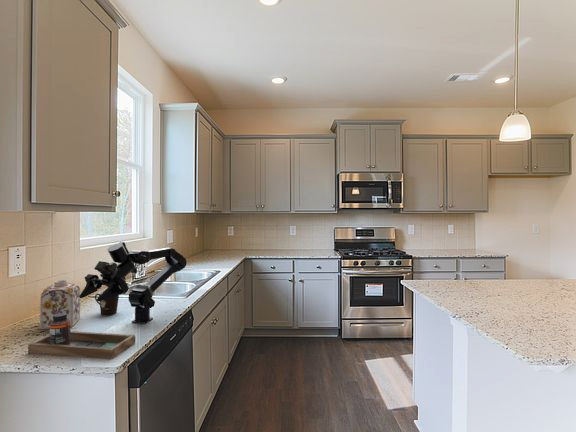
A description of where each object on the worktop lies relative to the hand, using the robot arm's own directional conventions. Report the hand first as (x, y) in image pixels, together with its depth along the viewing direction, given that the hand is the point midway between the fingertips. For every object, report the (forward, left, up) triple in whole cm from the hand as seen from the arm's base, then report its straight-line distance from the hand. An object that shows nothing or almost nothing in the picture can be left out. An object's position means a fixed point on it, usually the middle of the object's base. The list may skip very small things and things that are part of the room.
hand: (88, 298), depth 122 cm
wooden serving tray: (+6, +3, -15) cm, 17 cm away
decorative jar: (-15, -24, -16) cm, 33 cm away
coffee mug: (-32, -15, -16) cm, 39 cm away
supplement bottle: (+6, -6, -16) cm, 18 cm away
